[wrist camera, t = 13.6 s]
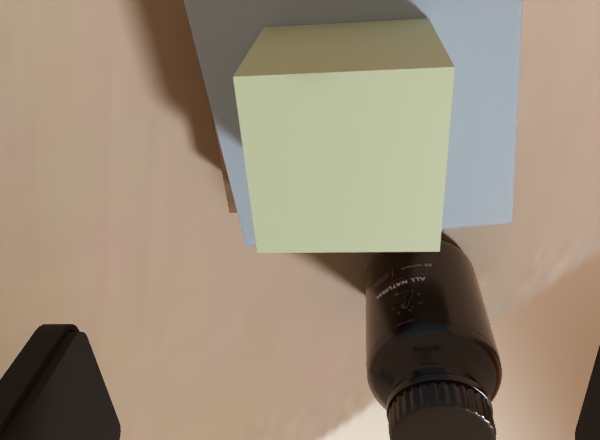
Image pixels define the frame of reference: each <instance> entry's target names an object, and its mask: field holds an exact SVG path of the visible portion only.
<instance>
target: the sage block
mask: <svg viewBox="0 0 600 440" xmlns="http://www.w3.org/2000/svg"><path fill="white" fill-rule="evenodd" d="M454 72H455V66H454V64H453V62H452V61H451V59H450V57H449V55H448V53H447V51H446V49H445V48H444V46H443V44H442V42H441V40H440V38H439V36H438V34H437V33H436V31H435V29H434V27H433V25H432V23H431V21H430V20H429V18H423V19H404V20H386V21H368V22H349V23H331V24H313V25H294V26H276V27H264V28H263V29H262V31H261V33H260V34H259V36H258V37H257V39H256V41H255V42H254V44H253V45H252V47H251V49H250V50H249V52H248V53H247V55H246V57H245V58H244V60H243V61H242V63H241V65H240V66H239V68H238V69H237V71H236V73H235V74H234V76H233V81H234V88H235V95H236V103H237V110H238V117H239V124H240V131H241V139H242V146H243V153H244V160H245V168H246V175H247V182H248V189H249V197H250V204H251V211H252V218H253V225H254V233H255V240H256V247H257V253H324V252H440V243H441V231H442V219H443V207H444V194H445V182H446V170H447V158H448V145H449V133H450V121H451V108H452V96H453V84H454Z"/></svg>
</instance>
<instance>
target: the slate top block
mask: <svg viewBox="0 0 600 440" xmlns="http://www.w3.org/2000/svg"><path fill="white" fill-rule="evenodd" d="M183 1H184V5H185V9H186V13H187V17H188V21H189V25H190V29H191V33H192V37H193V41H194V44H195V48H196V52H197V56H198V60H199V64H200V68H201V72H202V76H203V80H204V84H205V87H206V91H207V95H208V99H209V103H210V107H211V111H212V115H213V119H214V123H215V127H216V130H217V134H218V138H219V142H220V146H221V150H222V154H223V158H224V162H225V166H226V170H227V173H228V177H229V181H230V185H231V189H232V193H233V197H234V201H235V205H236V209H237V213H238V217H239V220H240V224H241V228H242V232H243V236H244V240H245V244H246V247H247V246H256V240H255V233H254V225H253V218H252V211H251V204H250V197H249V189H248V182H247V175H246V168H245V160H244V153H243V146H242V139H241V131H240V124H239V117H238V110H237V103H236V95H235V88H234V81H233V76H234V74H235V73H236V71H237V69H238V68H239V66H240V65H241V63H242V61H243V60H244V58H245V57H246V55H247V53H248V52H249V50H250V49H251V47H252V45H253V44H254V42H255V41H256V39H257V37H258V36H259V34H260V33H261V31H262V29H263V28H264V27H276V26H294V25H313V24H331V23H349V22H368V21H386V20H404V19H423V18H429V20H430V21H431V23H432V25H433V27H434V29H435V31H436V33H437V34H438V36H439V38H440V40H441V42H442V44H443V46H444V48H445V49H446V51H447V53H448V55H449V57H450V59H451V61H452V62H453V64H454V66H455V72H454V84H453V96H452V108H451V121H450V133H449V145H448V158H447V170H446V182H445V194H444V207H443V219H442V229H447V228H459V227H470V226H481V225H492V224H503V223H512V211H513V191H514V171H515V150H516V130H517V110H518V90H519V70H520V50H521V30H522V10H523V0H183Z"/></svg>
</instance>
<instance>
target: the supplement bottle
mask: <svg viewBox="0 0 600 440" xmlns="http://www.w3.org/2000/svg"><path fill="white" fill-rule="evenodd" d="M366 366H367V379H368V384H369V387H370V389H371V391H372V393H373V395H374V397H375V398H376V399H377V401H378V402H379V403H380V404H381V405H382V406H383V407H384V408H385V409H386V410H387V418H388V422H389V434H390V440H496V428H495V424H494V420H493V410H492V404H491V402H492V401H493V399H494V398H495V396H496V394H497V392H498V390H499V387H500V384H501V379H502V368H501V362H500V357H499V354H498V350H497V347H496V344H495V340H494V337H493V333H492V330H491V326H490V323H489V319H488V316H487V312H486V309H485V305H484V302H483V298H482V295H481V292H480V288H479V285H478V281H477V278H476V275H475V272H474V269H473V266H472V264H471V262H470V260H469V259H468V257H467V256H466V255H465V254H464V253H463V252H462V251H461V250H460V249H459V248H457V247H456V246H454V245H453V244H451V243H449V242H447V241H444V240H441V243H440V252H380V253H379V254H378V255H377V256H376V257H375V258H374V260H373V261H372V263H371V264H370V267H369V269H368V272H367V277H366Z"/></svg>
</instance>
